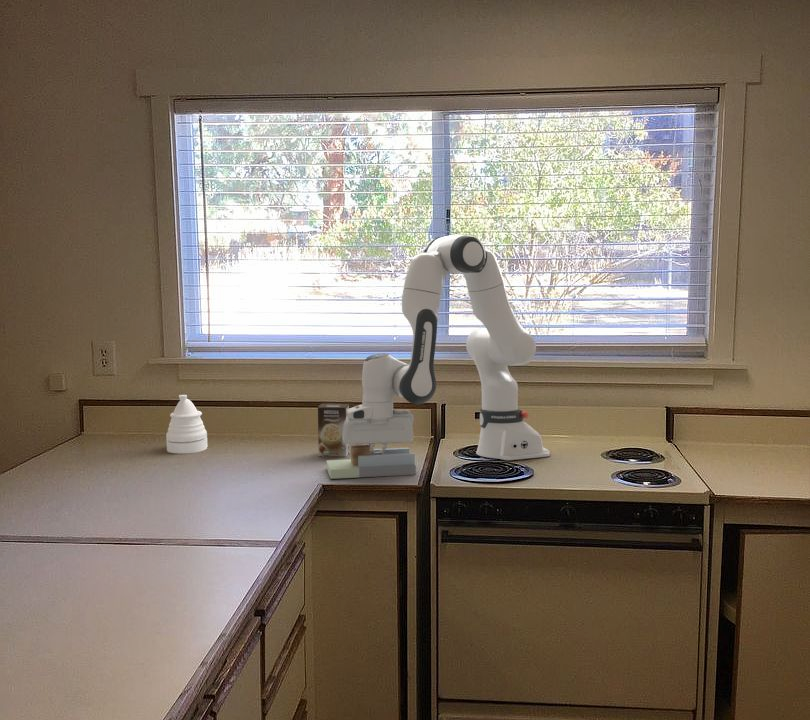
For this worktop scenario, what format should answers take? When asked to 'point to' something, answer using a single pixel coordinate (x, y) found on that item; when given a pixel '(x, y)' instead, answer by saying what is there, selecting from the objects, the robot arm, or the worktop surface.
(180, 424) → the honey pot
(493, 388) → the robot arm
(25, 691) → the worktop surface
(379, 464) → the channel
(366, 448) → the walnut block
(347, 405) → the coffee box
